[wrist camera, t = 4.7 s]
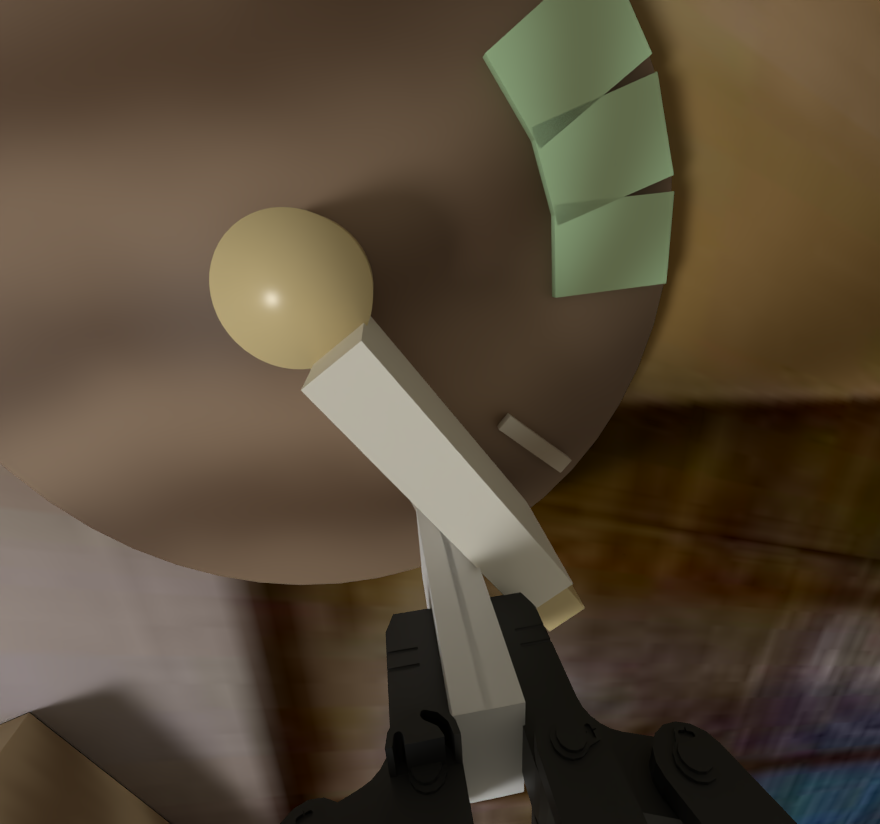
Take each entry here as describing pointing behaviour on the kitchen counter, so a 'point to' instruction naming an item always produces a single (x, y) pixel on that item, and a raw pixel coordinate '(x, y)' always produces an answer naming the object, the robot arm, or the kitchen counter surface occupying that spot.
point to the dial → (341, 200)
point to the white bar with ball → (378, 392)
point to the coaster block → (59, 782)
